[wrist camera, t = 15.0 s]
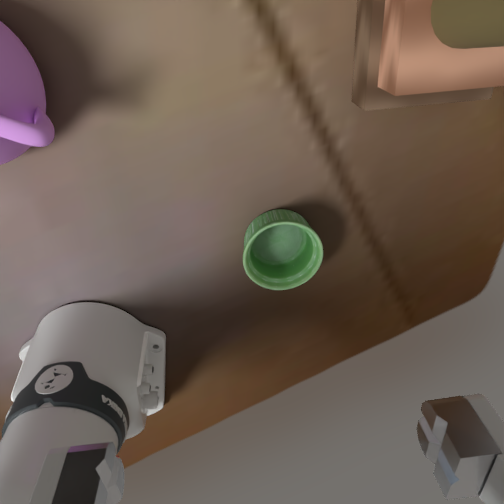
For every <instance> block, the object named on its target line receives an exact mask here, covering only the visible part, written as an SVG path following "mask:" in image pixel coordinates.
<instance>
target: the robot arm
mask: <svg viewBox="0 0 504 504" xmlns="http://www.w3.org/2000/svg"><path fill="white" fill-rule="evenodd" d="M19 357H20V359H21V360H22V361H23V363H22V366H21V369H20V371H19V374H18V377H17V380H16V382H15V385H14V388H13V391H12V394H11V400H12V401H13V402H14V403H13V405H12V406H11V407H10V409H9V411H8V413H7V416H6V420H5V423H4V426H3V429H2V440H1V443H0V504H118V502H119V501H120V500H121V499H122V495H123V489H124V468H123V464H122V461H121V459H120V458H119V456H116V454H117V453H118V452H119V450H120V448H121V446H122V444H123V443H124V441H125V440H126V439H129V438H131V437H133V436H136V435H137V434H139V433H140V432H141V431H142V430H143V429H144V427H145V423H146V417H147V416H149V415H151V414H153V413H155V412H157V411H159V410H161V409H162V408H163V405H164V400H165V362H166V335H165V333H164V332H163V331H161V330H159V329H156V328H153V327H150V326H147V325H144V324H143V323H141V322H140V321H138V320H137V319H136V318H134V317H133V316H132V315H130V314H128V313H127V312H125V311H123V310H121V309H119V308H116V307H113V306H110V305H106V304H101V303H93V302H81V303H73V304H69V305H65V306H62V307H60V308H57V309H55V310H54V311H52V312H50V313H49V314H48V315H47V316H45V317H44V318H43V320H42V321H41V322H40V324H39V326H38V328H37V331H36V333H35V335H34V337H33V338H32V339H31V340H29V341H28V342H27V343H25V344H24V345H23V346H22V348H21V350H20V353H19ZM421 411H422V413H423V415H424V416H423V417H422V418H420V419H419V420H418V425H417V434H418V440H419V443H420V446H421V449H422V451H423V453H424V455H425V457H426V458H428V459H429V460H430V461H431V462H433V463H434V464H435V468H434V473H433V474H434V476H435V478H436V480H437V482H438V484H439V486H440V488H441V490H442V493H443V494H444V497H445V498H446V500H448V499H458V498H468V497H477V496H480V497H479V499H480V500H482V501H483V502H484V503H485V504H504V422H503V420H502V419H501V417H500V416H499V415H498V413H497V412H496V410H495V409H494V408H493V406H492V405H491V403H490V402H489V401H488V399H487V398H486V397H485V396H484V395H482V394H474V395H467V396H456V397H449V398H442V399H435V400H428V401H425V402H424V403H422V407H421Z"/></svg>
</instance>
